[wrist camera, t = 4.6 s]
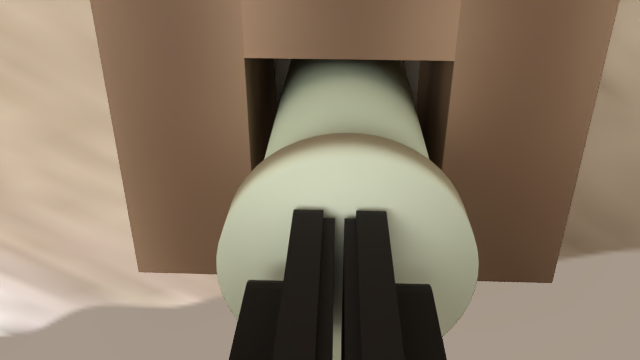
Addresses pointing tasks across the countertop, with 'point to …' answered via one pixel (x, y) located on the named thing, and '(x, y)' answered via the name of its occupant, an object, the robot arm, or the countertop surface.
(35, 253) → the countertop surface
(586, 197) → the countertop surface
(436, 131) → the socket block
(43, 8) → the countertop surface
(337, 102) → the green plug
